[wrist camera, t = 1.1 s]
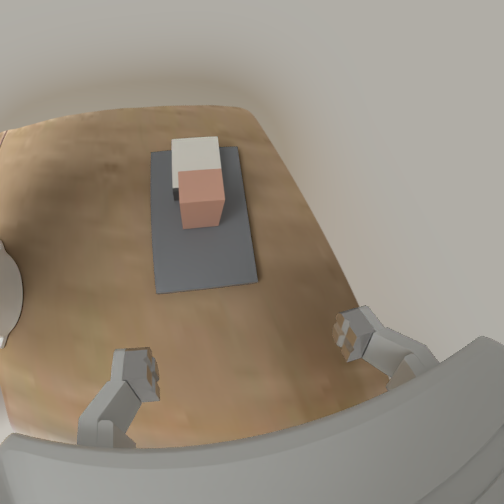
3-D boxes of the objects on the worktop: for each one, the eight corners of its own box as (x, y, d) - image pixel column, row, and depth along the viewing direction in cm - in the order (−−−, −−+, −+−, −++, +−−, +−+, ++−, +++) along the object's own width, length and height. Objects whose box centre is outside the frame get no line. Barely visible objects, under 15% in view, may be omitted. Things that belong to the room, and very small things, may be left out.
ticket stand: (157, 294, 36) (152, 291, 31) (152, 157, 40) (148, 141, 36) (255, 283, 39) (263, 278, 35) (235, 151, 43) (240, 135, 39)
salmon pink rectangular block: (182, 229, 37) (179, 203, 28) (181, 202, 38) (178, 171, 29) (218, 225, 38) (225, 199, 29) (215, 199, 39) (221, 168, 30)
